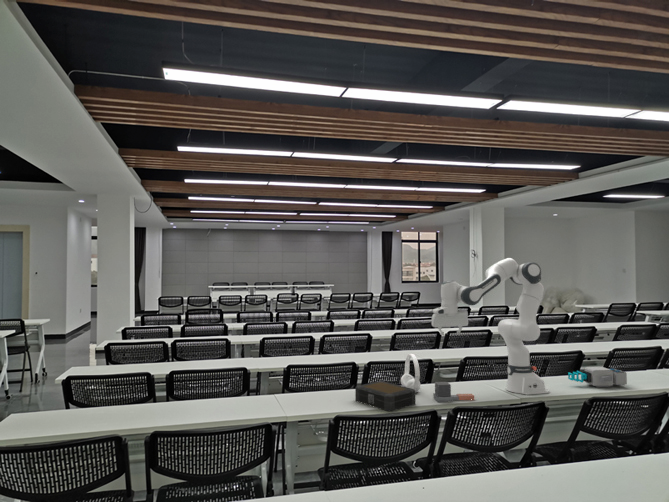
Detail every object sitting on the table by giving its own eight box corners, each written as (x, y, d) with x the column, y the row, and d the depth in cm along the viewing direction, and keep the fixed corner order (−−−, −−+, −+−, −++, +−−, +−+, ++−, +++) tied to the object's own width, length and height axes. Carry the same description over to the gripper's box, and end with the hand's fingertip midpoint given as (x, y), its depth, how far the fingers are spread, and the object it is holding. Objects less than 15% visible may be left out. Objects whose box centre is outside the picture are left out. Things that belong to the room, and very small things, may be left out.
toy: (562, 365, 273) (611, 365, 274) (562, 382, 272) (612, 382, 273) (577, 371, 256) (630, 371, 257) (578, 390, 256) (630, 389, 257)
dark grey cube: (446, 393, 241) (446, 381, 241) (450, 396, 235) (450, 384, 235) (435, 393, 241) (434, 381, 241) (438, 396, 234) (438, 384, 234)
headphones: (423, 394, 248) (422, 356, 249) (409, 394, 247) (408, 357, 248) (411, 385, 268) (411, 350, 269) (398, 385, 267) (398, 351, 267)
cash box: (353, 401, 236) (353, 386, 237) (381, 394, 249) (380, 380, 250) (388, 412, 217) (388, 396, 217) (416, 404, 230) (416, 389, 230)
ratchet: (470, 397, 242) (470, 382, 243) (475, 401, 235) (475, 386, 235) (433, 398, 241) (433, 383, 241) (437, 402, 233) (437, 387, 234)
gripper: (465, 308, 261) (466, 333, 261) (430, 310, 259) (431, 334, 259) (469, 309, 255) (470, 334, 254) (433, 311, 253) (434, 336, 253)
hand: (450, 334), depth 257 cm, fingers open, 8 cm apart
